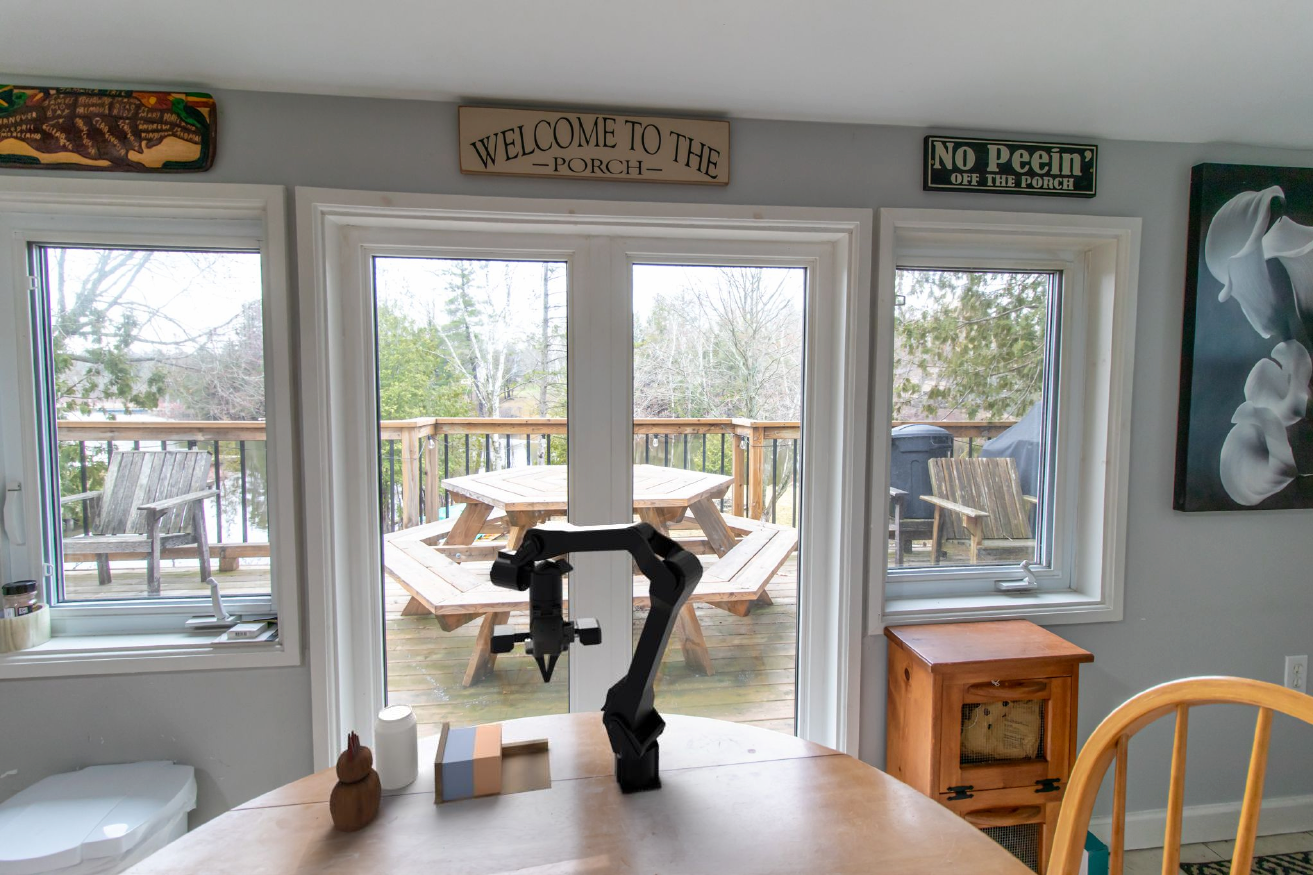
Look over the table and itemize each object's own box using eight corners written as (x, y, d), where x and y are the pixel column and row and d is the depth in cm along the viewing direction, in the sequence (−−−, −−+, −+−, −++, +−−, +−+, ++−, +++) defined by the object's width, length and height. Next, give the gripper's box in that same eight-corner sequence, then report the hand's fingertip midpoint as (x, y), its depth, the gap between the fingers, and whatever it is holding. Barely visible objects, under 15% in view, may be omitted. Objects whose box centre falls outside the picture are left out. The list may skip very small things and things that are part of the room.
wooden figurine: (358, 844, 84) (354, 742, 83) (323, 838, 85) (318, 737, 84) (389, 810, 91) (386, 715, 89) (355, 805, 92) (351, 711, 90)
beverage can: (422, 768, 100) (420, 700, 99) (412, 793, 94) (410, 720, 93) (383, 771, 100) (381, 702, 98) (371, 797, 93) (368, 723, 92)
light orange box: (502, 756, 102) (501, 723, 102) (500, 791, 93) (499, 755, 93) (477, 759, 101) (476, 726, 101) (473, 795, 92) (472, 758, 92)
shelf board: (548, 751, 105) (547, 710, 105) (551, 793, 95) (551, 748, 94) (442, 765, 101) (441, 722, 101) (433, 810, 91) (432, 763, 90)
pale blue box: (477, 760, 101) (476, 726, 101) (473, 796, 92) (472, 759, 92) (449, 764, 100) (448, 729, 100) (442, 800, 91) (441, 763, 91)
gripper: (487, 617, 94) (489, 712, 96) (606, 608, 98) (606, 699, 100) (491, 593, 105) (492, 678, 106) (597, 585, 109) (597, 668, 111)
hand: (546, 681), depth 106 cm, fingers closed
